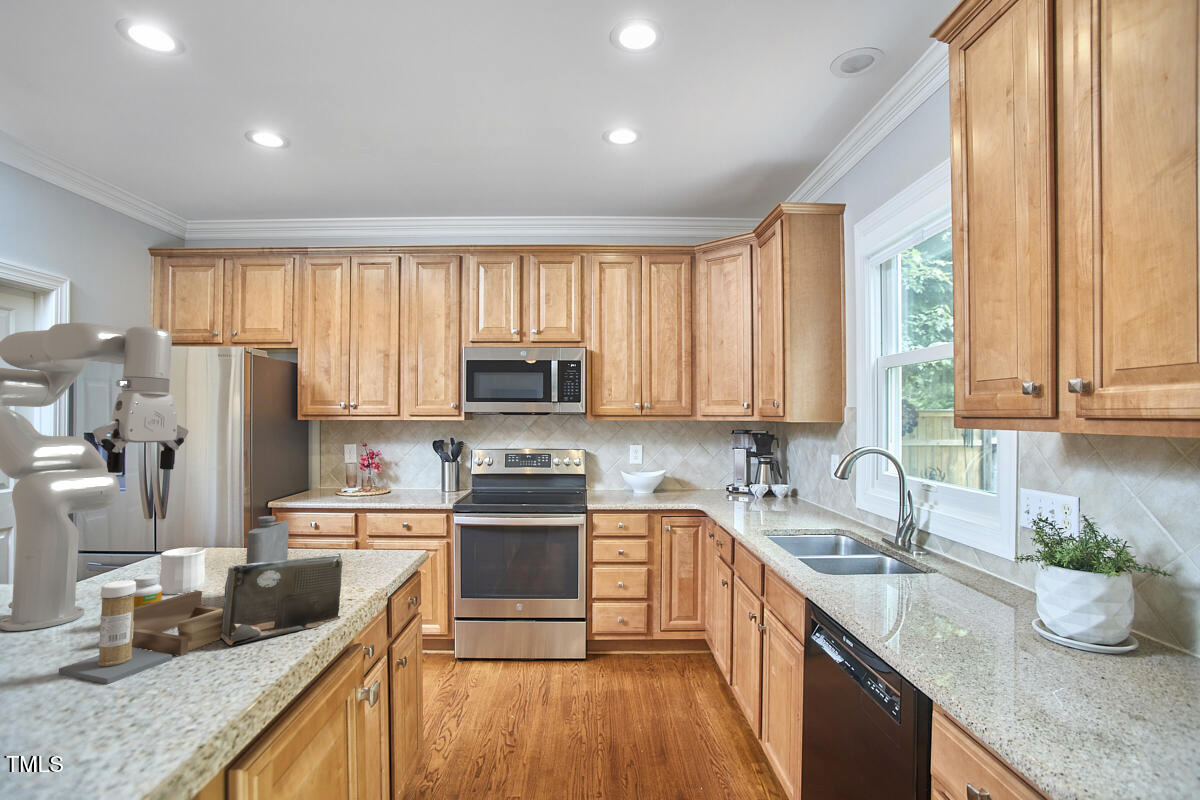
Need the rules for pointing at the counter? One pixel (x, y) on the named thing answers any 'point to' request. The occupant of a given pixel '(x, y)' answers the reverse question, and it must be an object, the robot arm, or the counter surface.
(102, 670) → the rubber mat
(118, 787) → the counter surface
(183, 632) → the offcut stack
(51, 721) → the counter surface
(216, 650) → the counter surface
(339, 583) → the radio
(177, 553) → the cup
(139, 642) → the rack
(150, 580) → the supplement bottle
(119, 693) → the counter surface
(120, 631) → the sprinkles bottle
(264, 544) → the hip flask
